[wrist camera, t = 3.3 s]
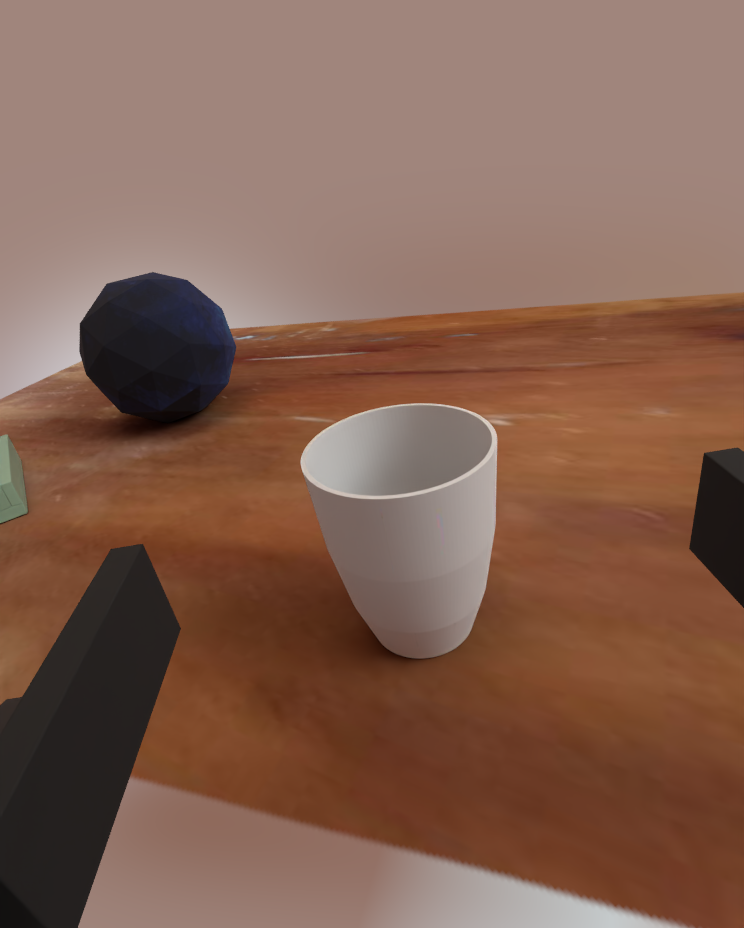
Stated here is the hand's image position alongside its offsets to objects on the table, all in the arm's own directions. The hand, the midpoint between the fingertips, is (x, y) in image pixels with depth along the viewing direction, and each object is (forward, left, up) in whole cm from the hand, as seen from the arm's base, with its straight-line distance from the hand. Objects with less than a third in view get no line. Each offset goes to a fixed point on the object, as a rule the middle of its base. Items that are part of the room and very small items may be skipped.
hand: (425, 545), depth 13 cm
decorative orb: (+4, +49, -12) cm, 51 cm away
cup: (+5, +8, -12) cm, 16 cm away
